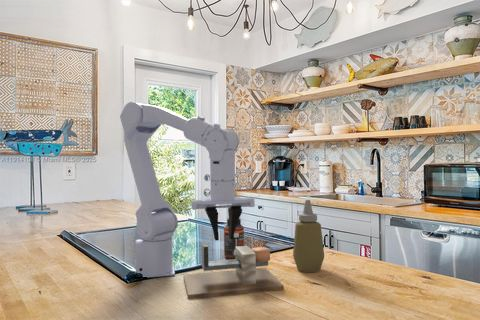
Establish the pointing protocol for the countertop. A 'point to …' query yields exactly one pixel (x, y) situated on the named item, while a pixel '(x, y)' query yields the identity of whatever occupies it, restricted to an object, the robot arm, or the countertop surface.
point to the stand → (233, 278)
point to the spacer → (262, 254)
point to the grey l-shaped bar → (221, 261)
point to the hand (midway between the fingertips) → (223, 239)
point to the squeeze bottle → (308, 241)
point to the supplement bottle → (237, 241)
